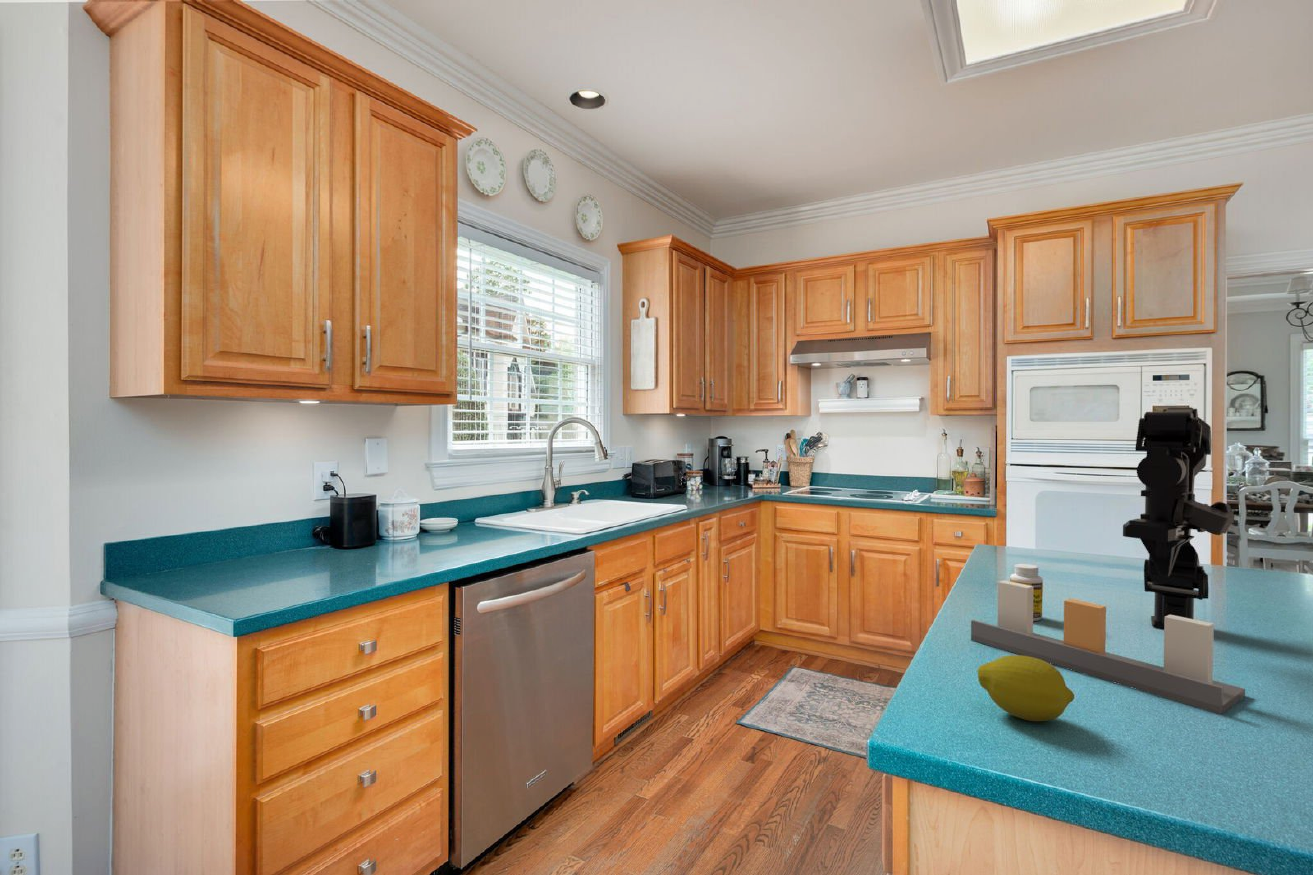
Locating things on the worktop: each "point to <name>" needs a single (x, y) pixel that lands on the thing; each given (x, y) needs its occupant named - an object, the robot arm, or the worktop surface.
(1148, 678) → the long grey base rail
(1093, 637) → the key middle
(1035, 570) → the supplement bottle
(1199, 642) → the key
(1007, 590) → the key
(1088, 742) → the worktop surface
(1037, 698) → the lemon
